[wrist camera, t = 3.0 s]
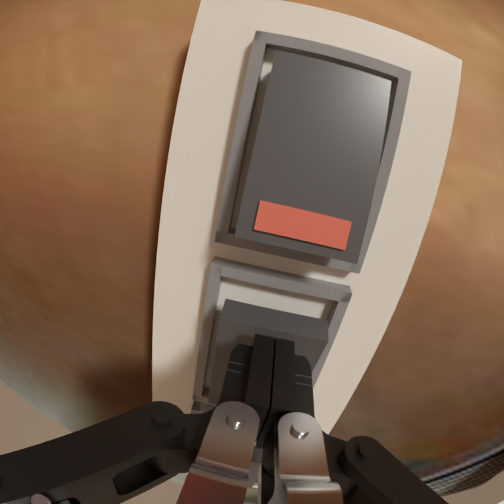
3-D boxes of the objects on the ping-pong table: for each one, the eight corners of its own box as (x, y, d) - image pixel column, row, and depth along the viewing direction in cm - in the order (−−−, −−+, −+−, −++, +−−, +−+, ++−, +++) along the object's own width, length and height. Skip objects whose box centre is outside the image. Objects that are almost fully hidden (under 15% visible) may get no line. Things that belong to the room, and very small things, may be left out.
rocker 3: (327, 320, 13) (328, 343, 12) (287, 400, 17) (285, 420, 16) (225, 298, 13) (218, 321, 12) (212, 385, 17) (207, 404, 16)
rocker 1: (272, 448, 17) (270, 466, 16) (253, 475, 21) (250, 489, 20) (202, 434, 17) (197, 452, 16) (198, 464, 21) (195, 478, 20)
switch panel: (436, 69, 13) (470, 57, 9) (289, 466, 25) (288, 498, 21) (217, 14, 13) (199, -15, 10) (164, 440, 25) (153, 471, 22)
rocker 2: (381, 90, 11) (393, 80, 10) (349, 258, 12) (358, 265, 11) (275, 63, 11) (275, 48, 10) (237, 233, 12) (233, 237, 11)
